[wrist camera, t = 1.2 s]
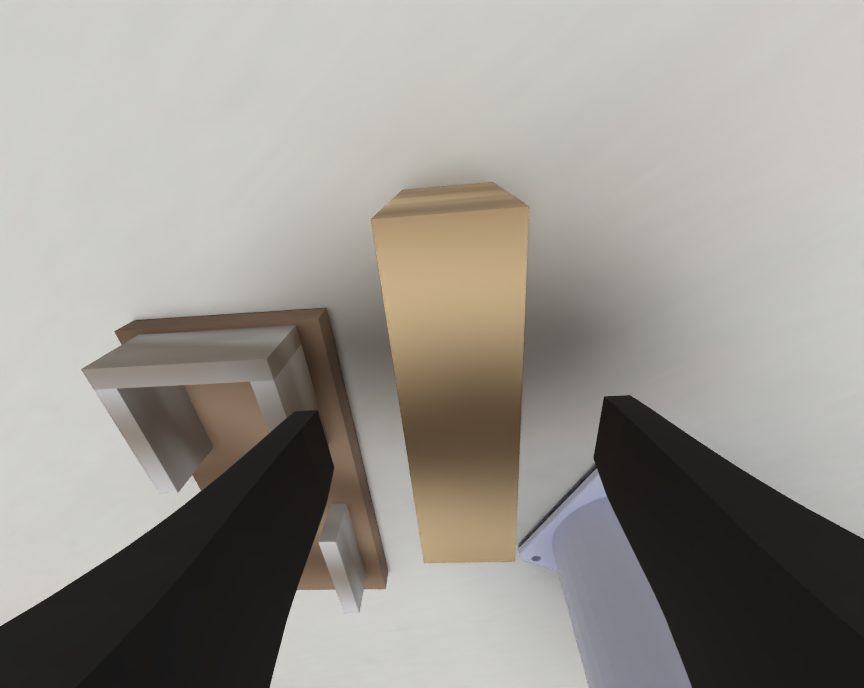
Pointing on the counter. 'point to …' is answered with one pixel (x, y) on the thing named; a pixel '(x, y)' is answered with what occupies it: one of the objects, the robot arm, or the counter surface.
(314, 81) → the counter surface
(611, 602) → the robot arm
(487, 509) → the oak slat
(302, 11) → the counter surface
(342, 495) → the board
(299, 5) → the counter surface
